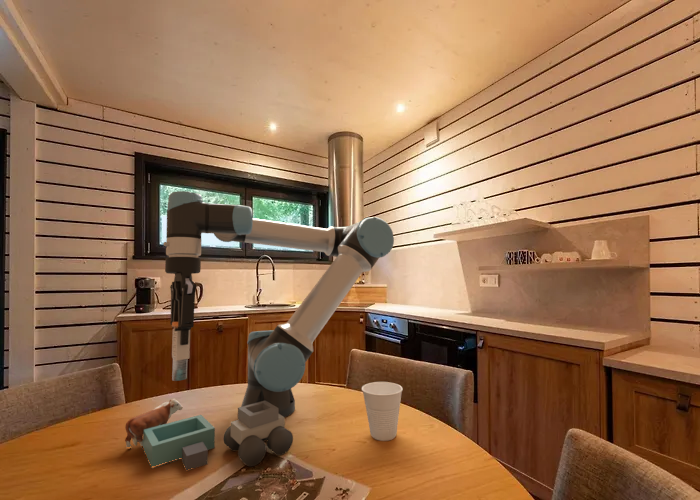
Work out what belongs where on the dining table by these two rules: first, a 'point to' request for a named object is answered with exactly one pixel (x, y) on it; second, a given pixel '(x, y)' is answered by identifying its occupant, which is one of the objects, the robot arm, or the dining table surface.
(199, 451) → the block
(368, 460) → the dining table surface
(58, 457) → the dining table surface
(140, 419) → the bull figurine
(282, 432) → the trolley
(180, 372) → the glass jar
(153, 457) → the tray
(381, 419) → the cup
